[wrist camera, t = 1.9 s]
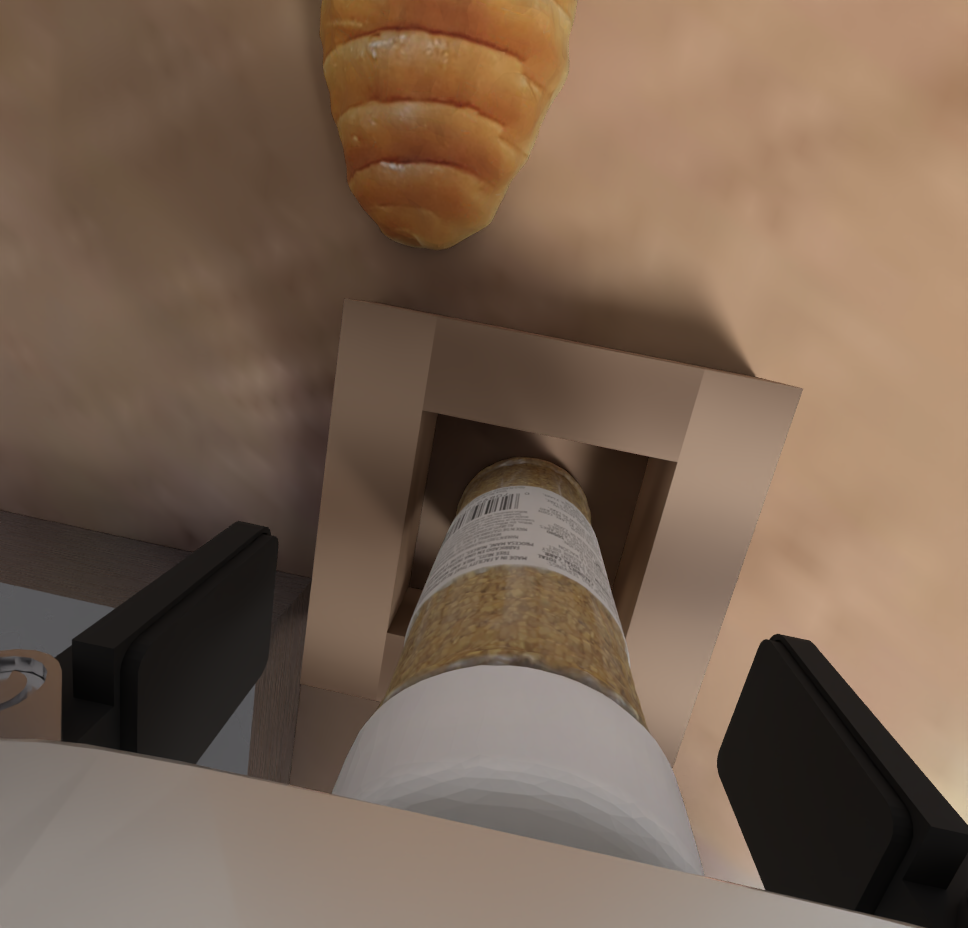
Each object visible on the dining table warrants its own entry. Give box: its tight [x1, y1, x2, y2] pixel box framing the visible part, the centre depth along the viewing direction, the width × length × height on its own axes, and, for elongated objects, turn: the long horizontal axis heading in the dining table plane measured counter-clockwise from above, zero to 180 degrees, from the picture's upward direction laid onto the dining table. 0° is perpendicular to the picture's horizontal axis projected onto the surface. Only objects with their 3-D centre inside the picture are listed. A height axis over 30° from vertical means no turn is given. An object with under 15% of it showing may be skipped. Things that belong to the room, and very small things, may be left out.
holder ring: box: [300, 298, 803, 768], centre depth 17 cm, size 12×12×3 cm
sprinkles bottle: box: [331, 457, 705, 877], centre depth 12 cm, size 5×5×13 cm
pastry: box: [319, 0, 577, 250], centre depth 14 cm, size 9×7×4 cm
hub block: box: [0, 511, 312, 784], centre depth 20 cm, size 14×14×4 cm
